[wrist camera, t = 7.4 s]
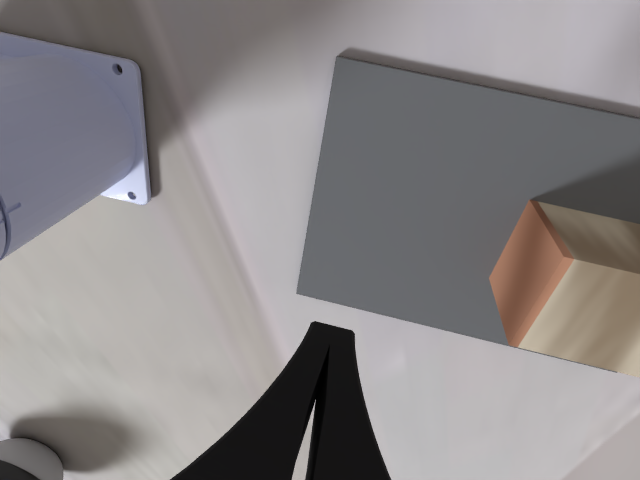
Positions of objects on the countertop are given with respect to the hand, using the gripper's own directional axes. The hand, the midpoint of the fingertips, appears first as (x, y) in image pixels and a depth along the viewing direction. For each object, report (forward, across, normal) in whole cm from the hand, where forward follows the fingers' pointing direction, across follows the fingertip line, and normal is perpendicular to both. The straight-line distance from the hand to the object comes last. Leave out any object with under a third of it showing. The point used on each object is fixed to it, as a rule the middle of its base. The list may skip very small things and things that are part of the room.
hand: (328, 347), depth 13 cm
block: (+8, -8, 0) cm, 11 cm away
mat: (+10, -8, 0) cm, 13 cm away
